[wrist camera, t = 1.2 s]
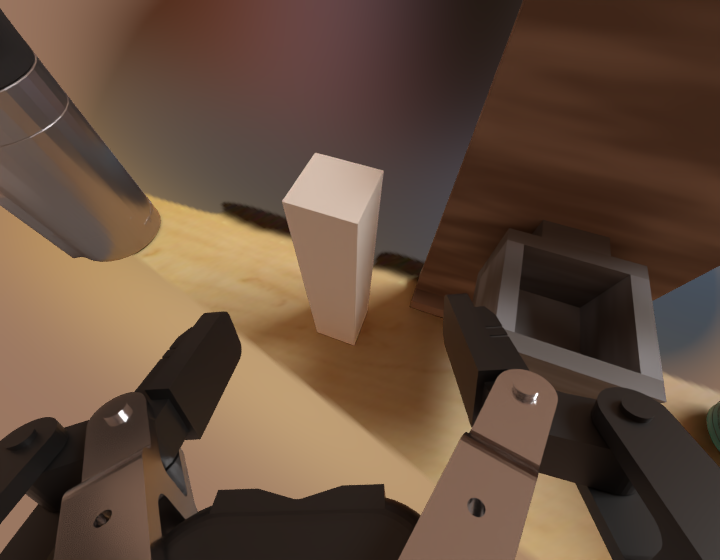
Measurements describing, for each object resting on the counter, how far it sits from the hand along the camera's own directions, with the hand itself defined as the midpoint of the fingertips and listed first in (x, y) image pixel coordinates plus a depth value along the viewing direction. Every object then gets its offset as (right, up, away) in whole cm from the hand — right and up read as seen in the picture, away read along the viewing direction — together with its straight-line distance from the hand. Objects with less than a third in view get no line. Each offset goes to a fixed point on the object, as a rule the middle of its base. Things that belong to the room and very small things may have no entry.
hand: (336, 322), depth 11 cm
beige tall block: (-1, -3, +20) cm, 20 cm away
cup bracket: (+13, -5, +19) cm, 23 cm away
